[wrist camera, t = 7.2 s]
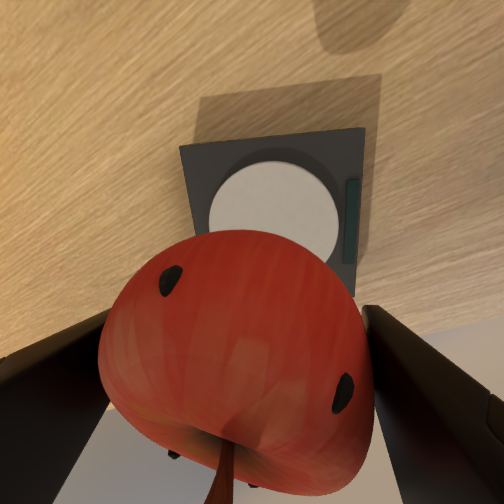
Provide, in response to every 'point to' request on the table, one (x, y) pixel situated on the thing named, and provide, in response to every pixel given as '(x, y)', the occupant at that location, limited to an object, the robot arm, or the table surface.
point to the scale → (283, 190)
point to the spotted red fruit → (244, 363)
